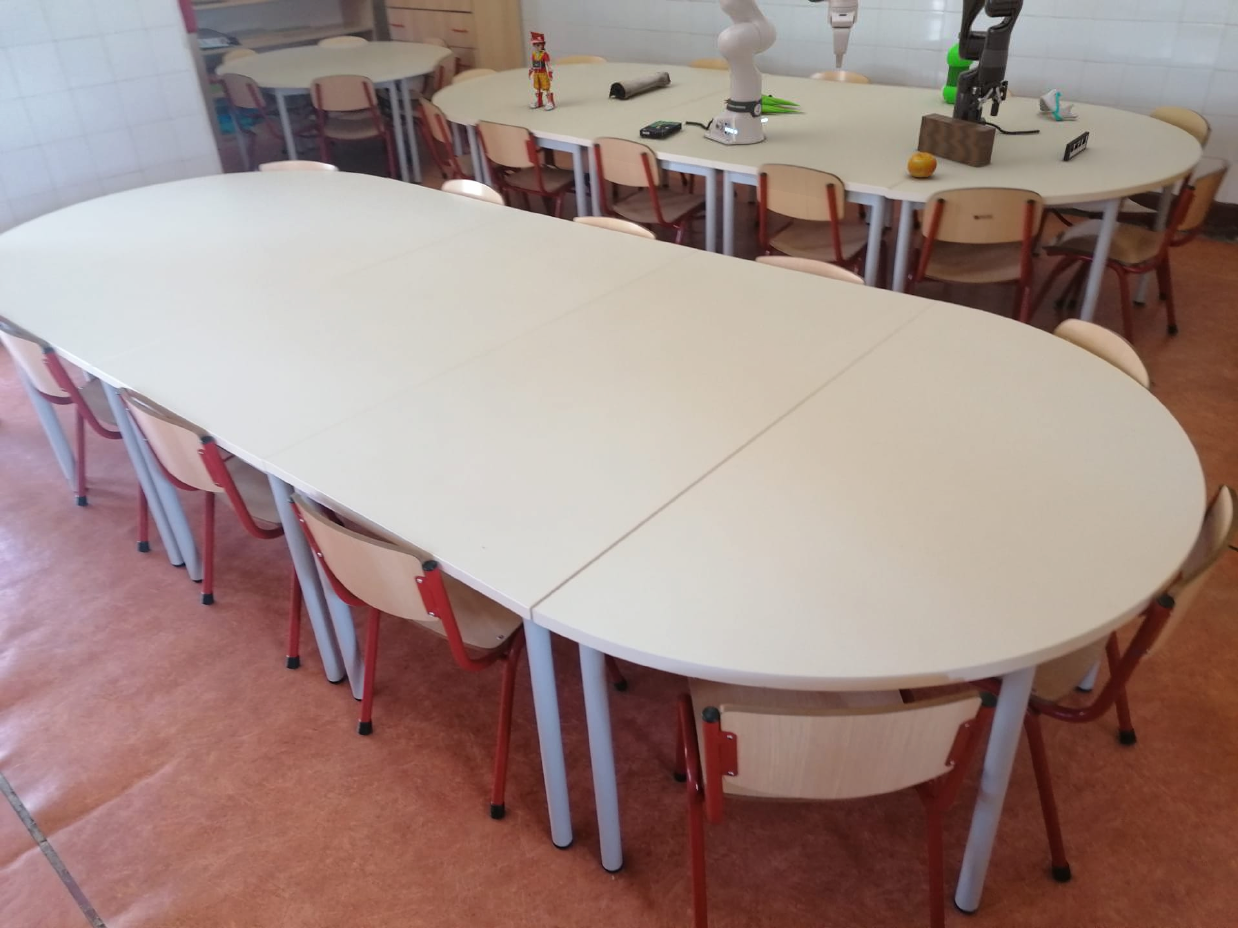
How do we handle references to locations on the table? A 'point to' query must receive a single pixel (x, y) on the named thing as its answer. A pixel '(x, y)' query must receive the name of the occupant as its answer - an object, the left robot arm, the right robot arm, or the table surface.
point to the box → (956, 139)
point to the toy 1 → (541, 71)
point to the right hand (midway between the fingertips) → (984, 118)
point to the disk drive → (660, 129)
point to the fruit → (922, 164)
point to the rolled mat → (638, 84)
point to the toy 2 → (769, 104)
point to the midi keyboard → (1076, 145)
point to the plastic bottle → (954, 73)
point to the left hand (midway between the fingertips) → (838, 64)
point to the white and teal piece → (1055, 105)
